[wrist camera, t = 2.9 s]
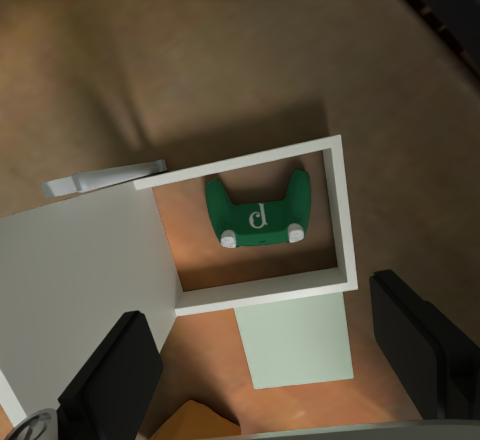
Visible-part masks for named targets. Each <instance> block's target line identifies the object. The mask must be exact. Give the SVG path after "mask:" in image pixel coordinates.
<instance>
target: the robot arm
mask: <svg viewBox="0 0 480 440" xmlns="http://www.w3.org/2000/svg"><path fill="white" fill-rule="evenodd" d="M369 281H370V292H371V303H372V314H373V324H374V334H375V338H376V341H377V343H378V345H379V347H380V348H381V350H382V352H383V353H384V355H385V357H386V358H387V360H388V362H389V363H390V365H391V367H392V368H393V370H394V372H395V373H396V375H397V376H398V378H399V380H400V381H401V383H402V385H403V386H404V388H405V390H406V391H407V393H408V395H409V396H410V398H411V400H412V401H413V403H414V405H415V406H416V408H417V410H418V411H419V413H420V415H421V416H422V418H423V420H410V421H397V422H383V423H369V424H357V425H346V426H335V427H324V428H313V429H301V430H290V431H279V432H269V433H259V434H248V435H238V436H228V437H218V438H207V439H197V440H480V348H479V347H478V346H477V345H476V344H475V343H474V342H473V341H472V340H470V339H469V338H468V337H467V336H466V335H465V334H464V333H463V332H462V331H461V330H460V329H459V328H457V327H456V326H455V325H454V324H453V323H452V322H451V321H450V320H449V319H448V318H447V317H446V316H444V315H443V314H442V313H441V312H440V311H439V310H438V309H437V308H436V307H435V306H434V305H433V304H431V303H430V302H429V301H424V300H423V299H421V298H420V297H419V296H418V295H417V294H416V293H415V292H414V291H413V290H412V289H411V288H410V287H409V286H408V285H407V284H406V283H405V282H404V281H402V280H401V279H400V278H399V277H398V276H397V275H396V274H395V273H394V272H393V271H392V270H383V271H377V272H374V276H370V278H369ZM162 371H163V362H162V360H161V357H160V354H159V351H158V349H157V346H156V343H155V341H154V338H153V335H152V333H151V330H150V327H149V325H148V322H147V319H146V316H145V314H144V313H141V312H140V311H139V310H135V311H129V312H125V313H123V314H122V316H121V317H120V318H119V320H118V321H117V322H116V324H115V325H114V326H113V327H112V329H111V330H110V331H109V333H108V334H107V335H106V337H105V338H104V339H103V340H102V342H101V343H100V344H99V346H98V347H97V348H96V350H95V351H94V352H93V353H92V355H91V356H90V357H89V359H88V360H87V361H86V363H85V364H84V365H83V366H82V368H81V369H80V370H79V372H78V373H77V374H76V376H75V377H74V378H73V379H72V381H71V382H70V383H69V385H68V386H67V387H66V389H65V390H64V391H63V393H62V394H61V395H60V396H59V398H58V399H57V400H58V402H59V404H60V406H59V407H58V409H57V410H55V409H53V408H45V409H42V410H39V411H37V412H35V413H33V414H31V415H30V416H28V417H27V418H25V419H24V420H22V421H21V422H20V423H19V424H18V425H17V426H15V427H14V428H13V429H12V430H11V432H10V433H9V434H8V435H7V436H6V438H5V439H4V440H135V438H136V436H137V433H138V431H139V428H140V426H141V423H142V421H143V418H144V416H145V413H146V411H147V408H148V406H149V403H150V401H151V399H152V396H153V394H154V391H155V389H156V386H157V384H158V381H159V379H160V376H161V374H162Z"/></svg>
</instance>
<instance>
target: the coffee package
mask: <svg viewBox="0 0 480 440" xmlns="http://www.w3.org/2000/svg"><path fill="white" fill-rule="evenodd" d="M238 435H241V429H240V427H239V426H238V425H236V424H234V423H232V422H230V421H229V420H227V419H225V418H222V417H220V416H219V415H218V414H216V413H215V412H214V411H212V410H211V409H210V408H209V407H207V406H206V405H204V404H200V403H197V402H195V401H193V400H189V401H187V402H186V403H185V404H184V405H183V406H181V407H180V408H179V409H178V410H177V411H176V412H175V413H174V414H173V415H172V416H171V417H170V418H169V419H168V420H167V421H166V422H165V423H164V424H163V425H162V426H161V427H160V428H159V429H158V430H157V431H156V432H155V433H154V435H153V436H152V437H151V438H150V439H149V440H197V439H207V438H218V437H228V436H238Z"/></svg>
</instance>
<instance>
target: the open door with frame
mask: <svg viewBox="0 0 480 440" xmlns="http://www.w3.org/2000/svg"><path fill="white" fill-rule="evenodd" d="M319 150H322V151H323V159H324V166H325V174H326V182H327V189H328V197H329V204H330V212H331V219H332V227H333V235H334V242H335V250H336V257H337V265H338V267H336V268H330V269H324V270H317V271H311V272H305V273H299V274H293V275H286V276H280V277H274V278H268V279H262V280H255V281H249V282H243V283H237V284H231V285H224V286H218V287H212V288H206V289H200V290H193V291H187V292H183V289H182V286H181V282H180V279H179V276H178V273H177V269H176V266H175V263H174V260H173V256H172V253H171V250H170V247H169V243H168V240H167V237H166V234H165V230H164V227H163V224H162V221H161V217H160V214H159V211H158V208H157V204H156V201H155V198H154V195H153V191H152V188H151V187H153V186H158V185H163V184H167V183H172V182H176V181H181V180H186V179H190V178H195V177H199V176H204V175H209V174H213V173H218V172H222V171H227V170H232V169H236V168H241V167H245V166H250V165H255V164H259V163H264V162H268V161H273V160H278V159H282V158H287V157H291V156H296V155H301V154H305V153H310V152H314V151H319ZM166 170H167V167H166V163H165V160H164V159H163V160H157V161H153V162H147V163H141V164H134V165H128V166H121V167H115V168H108V169H102V170H95V171H89V172H82V173H76V174H74V175H72V176H70V177H66V178H62V179H57V180H53V181H49V182H45V183H40V185H41V187H42V190H43V192H44V195H45V197H46V199H47V198H51V197H56V196H60V195H65V194H69V193H74V192H86V191H90V190H93V189H97V188H101V187H105V186H108V185H112V184H116V183H120V182H123V181H127V180H131V179H135V178H138V177H142V176H146V175H150V174H153V173H157V172H162V171H166ZM356 289H358V284H357V275H356V266H355V257H354V248H353V239H352V230H351V222H350V213H349V204H348V195H347V186H346V177H345V168H344V159H343V150H342V141H341V135H334V136H328V137H324V138H319V139H315V140H310V141H306V142H301V143H297V144H292V145H288V146H283V147H279V148H274V149H270V150H265V151H261V152H256V153H252V154H247V155H243V156H238V157H234V158H229V159H225V160H220V161H216V162H212V163H207V164H203V165H198V166H194V167H189V168H185V169H180V170H176V171H171V172H167V173H162V174H158V175H153V176H149V177H144V178H140V179H136V180H133V181H129V182H126V183H122V184H118V185H115V186H111V187H108V188H104V189H100V190H97V191H93V192H90V193H86V194H83V195H79V196H75V197H72V198H68V199H65V200H61V201H57V202H54V203H50V204H47V205H43V206H39V207H36V208H32V209H29V210H25V211H22V212H18V213H14V214H11V215H7V216H4V217H0V404H1V406H2V407H3V409H4V411H5V412H6V414H7V416H8V418H9V419H10V421H11V423H12V424H13V426H14V427H15V426H17V425H18V424H19V423H20V422H21V421H22V420H24V419H25V418H27V417H28V416H30V415H31V414H33V413H35V412H37V411H39V410H42V409H45V408H53V409H55V410H57V409H58V407H59V406H60V404H59V402H58V400H57V399H58V398H59V396H60V395H61V394H62V393H63V391H64V390H65V389H66V387H67V386H68V385H69V383H70V382H71V381H72V379H73V378H74V377H75V376H76V374H77V373H78V372H79V370H80V369H81V368H82V366H83V365H84V364H85V363H86V361H87V360H88V359H89V357H90V356H91V355H92V353H93V352H94V351H95V350H96V348H97V347H98V346H99V344H100V343H101V342H102V340H103V339H104V338H105V337H106V335H107V334H108V333H109V331H110V330H111V329H112V327H113V326H114V325H115V324H116V322H117V321H118V320H119V318H120V317H121V316H122V314H123V313H125V312H129V311H135V310H139V311H140V312H141V313H144V314H145V316H146V319H147V322H148V325H149V327H150V330H151V333H152V335H153V338H154V341H155V343H156V346H157V349H158V351H159V353H160V351H161V349H162V347H163V345H164V343H165V341H166V338H167V336H168V334H169V332H170V330H171V328H172V326H173V324H174V322H175V320H176V318H177V316H183V315H189V314H196V313H203V312H209V311H216V310H223V309H229V308H236V307H243V306H249V305H256V304H263V303H269V302H276V301H283V300H289V299H296V298H303V297H309V296H316V295H323V294H329V293H336V292H343V291H349V290H356Z"/></svg>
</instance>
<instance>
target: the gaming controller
mask: <svg viewBox="0 0 480 440" xmlns="http://www.w3.org/2000/svg"><path fill="white" fill-rule="evenodd" d="M206 203H207V208H208V213H209V217H210V220H211V223H212V226H213V229H214V231H215V234H216V236H217V238H218V240H219V242H220V243H221V244H222V246H224V247H228V248H235V247H239V246H260V245H270V244H278V243H283V242H287V243H289V242H296V241H299V240H302V239H303V238H304V236H305V234H306V231H307V227H308V223H309V218H310V210H311V186H310V178H309V175H308V172H305V171H302V170H298V169H296V170H295V171H294V173H293V175H292V177H291V179H290V181H289V185H288V189H287V193H286V196H285V198H284V199H283V200H280V201H268V202H258V203H249V204H242V205H233V204H232V202H231V200H230V198H229V196H228V194H227V192H226V190H225V188H224V187H223V185H222V184H221V183H220V182H219V180H218V179H214V180H212V181H211V182H209V183H208V184H206Z"/></svg>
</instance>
